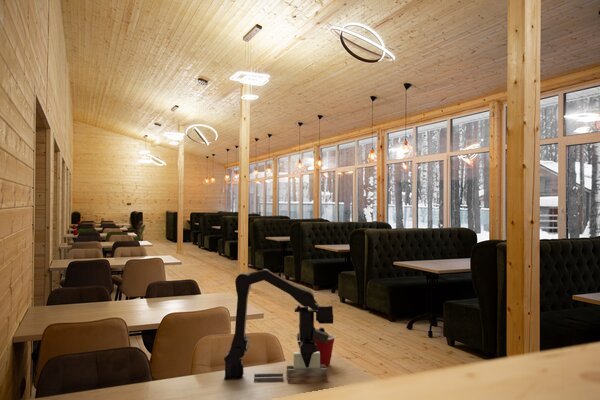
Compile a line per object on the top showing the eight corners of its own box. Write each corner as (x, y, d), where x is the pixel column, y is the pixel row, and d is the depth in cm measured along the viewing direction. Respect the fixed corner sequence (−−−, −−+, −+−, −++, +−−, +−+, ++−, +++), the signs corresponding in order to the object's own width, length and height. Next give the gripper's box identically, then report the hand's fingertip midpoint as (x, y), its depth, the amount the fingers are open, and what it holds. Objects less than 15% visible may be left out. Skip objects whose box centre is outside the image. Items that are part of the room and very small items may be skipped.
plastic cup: (328, 359, 195) (328, 331, 196) (340, 367, 185) (340, 337, 186) (305, 362, 191) (305, 333, 192) (316, 370, 181) (316, 340, 182)
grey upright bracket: (253, 381, 168) (253, 378, 169) (254, 376, 174) (254, 373, 174) (283, 380, 169) (283, 377, 169) (282, 375, 175) (282, 372, 175)
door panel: (293, 375, 171) (293, 353, 172) (293, 373, 174) (293, 351, 174) (320, 374, 172) (320, 353, 172) (319, 372, 174) (319, 351, 175)
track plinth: (287, 382, 167) (287, 372, 167) (286, 373, 177) (286, 363, 177) (327, 381, 168) (327, 371, 168) (324, 372, 178) (324, 362, 178)
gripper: (330, 328, 165) (330, 372, 164) (324, 317, 183) (324, 356, 183) (300, 329, 164) (300, 372, 163) (297, 318, 183) (296, 357, 182)
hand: (306, 364), depth 173 cm, fingers open, 6 cm apart
